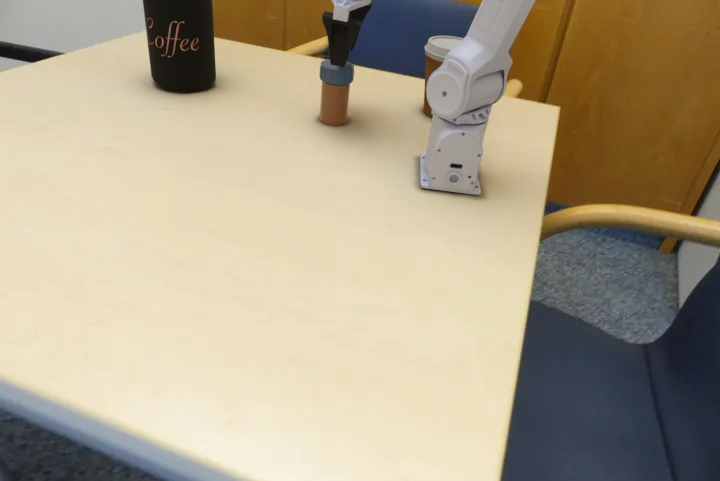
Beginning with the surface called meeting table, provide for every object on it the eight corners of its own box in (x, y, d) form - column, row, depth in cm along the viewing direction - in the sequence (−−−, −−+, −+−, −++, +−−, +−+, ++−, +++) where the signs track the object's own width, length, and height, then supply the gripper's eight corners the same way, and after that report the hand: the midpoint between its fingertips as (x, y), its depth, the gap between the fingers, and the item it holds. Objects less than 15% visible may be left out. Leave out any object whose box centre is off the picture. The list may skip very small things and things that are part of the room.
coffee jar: (139, 86, 93) (124, -32, 83) (174, 68, 102) (164, -40, 92) (196, 98, 91) (187, -20, 81) (227, 79, 100) (223, -30, 90)
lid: (351, 86, 84) (353, 71, 82) (317, 82, 84) (317, 67, 82) (354, 76, 88) (356, 61, 87) (321, 72, 88) (322, 57, 87)
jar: (345, 127, 88) (350, 73, 83) (317, 123, 88) (320, 70, 83) (348, 116, 91) (352, 65, 87) (321, 113, 91) (324, 61, 87)
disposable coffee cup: (403, 107, 97) (413, 37, 90) (441, 99, 102) (454, 32, 96) (440, 128, 91) (455, 54, 85) (479, 118, 97) (496, 48, 90)
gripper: (336, -55, 82) (326, 37, 90) (315, -36, 71) (305, 67, 79) (382, -46, 82) (368, 46, 90) (369, -26, 71) (354, 77, 79)
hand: (342, 56), depth 85 cm, fingers open, 7 cm apart
